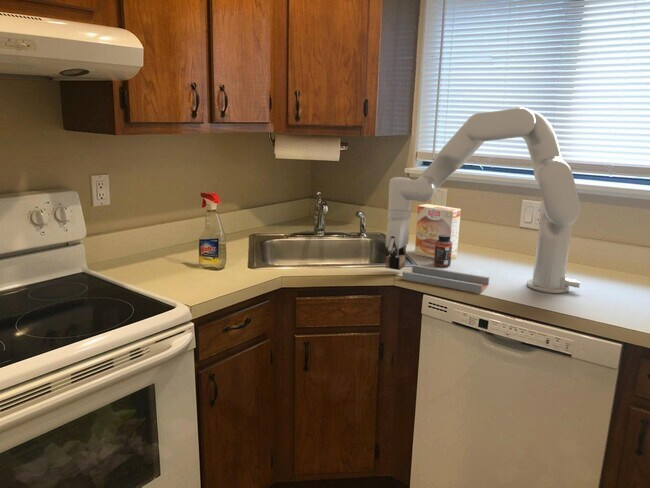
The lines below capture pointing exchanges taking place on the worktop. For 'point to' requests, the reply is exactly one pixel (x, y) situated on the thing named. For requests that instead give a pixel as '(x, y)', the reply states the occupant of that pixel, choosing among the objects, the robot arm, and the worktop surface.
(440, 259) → the supplement bottle
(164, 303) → the worktop surface
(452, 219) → the coffeecake box
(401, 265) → the walnut block
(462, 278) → the channel
